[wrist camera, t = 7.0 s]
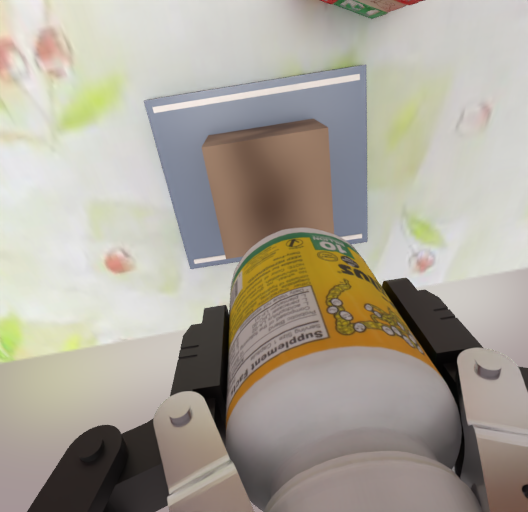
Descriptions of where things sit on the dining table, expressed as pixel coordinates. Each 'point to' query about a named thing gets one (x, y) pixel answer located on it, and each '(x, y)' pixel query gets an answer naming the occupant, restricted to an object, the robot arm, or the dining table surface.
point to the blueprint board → (252, 116)
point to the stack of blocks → (371, 6)
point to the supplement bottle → (333, 388)
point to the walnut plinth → (269, 181)
